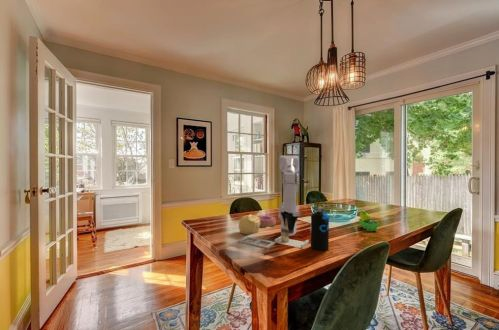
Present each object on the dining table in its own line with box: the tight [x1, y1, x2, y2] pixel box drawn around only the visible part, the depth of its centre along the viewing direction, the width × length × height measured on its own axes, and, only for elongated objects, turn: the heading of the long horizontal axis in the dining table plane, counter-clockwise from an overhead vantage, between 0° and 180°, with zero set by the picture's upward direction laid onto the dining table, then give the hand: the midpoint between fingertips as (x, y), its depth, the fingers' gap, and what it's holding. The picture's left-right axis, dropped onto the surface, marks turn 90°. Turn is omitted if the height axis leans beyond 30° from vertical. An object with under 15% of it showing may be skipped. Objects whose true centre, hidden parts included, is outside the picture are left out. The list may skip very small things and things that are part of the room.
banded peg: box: [285, 219, 294, 234], centre depth 108 cm, size 4×4×6 cm
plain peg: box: [280, 227, 290, 242], centre depth 117 cm, size 4×4×6 cm
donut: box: [256, 215, 277, 228], centre depth 154 cm, size 14×14×5 cm
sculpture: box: [238, 213, 261, 236], centre depth 134 cm, size 11×12×11 cm
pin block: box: [237, 235, 277, 249], centre depth 114 cm, size 8×16×2 cm, turn 58°
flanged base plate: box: [274, 235, 310, 249], centre depth 115 cm, size 9×14×3 cm, turn 58°
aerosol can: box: [310, 206, 330, 252], centre depth 108 cm, size 8×8×20 cm
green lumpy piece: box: [358, 210, 380, 232], centre depth 147 cm, size 11×9×11 cm
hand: (289, 229), depth 108 cm, fingers closed on banded peg, 4 cm apart
